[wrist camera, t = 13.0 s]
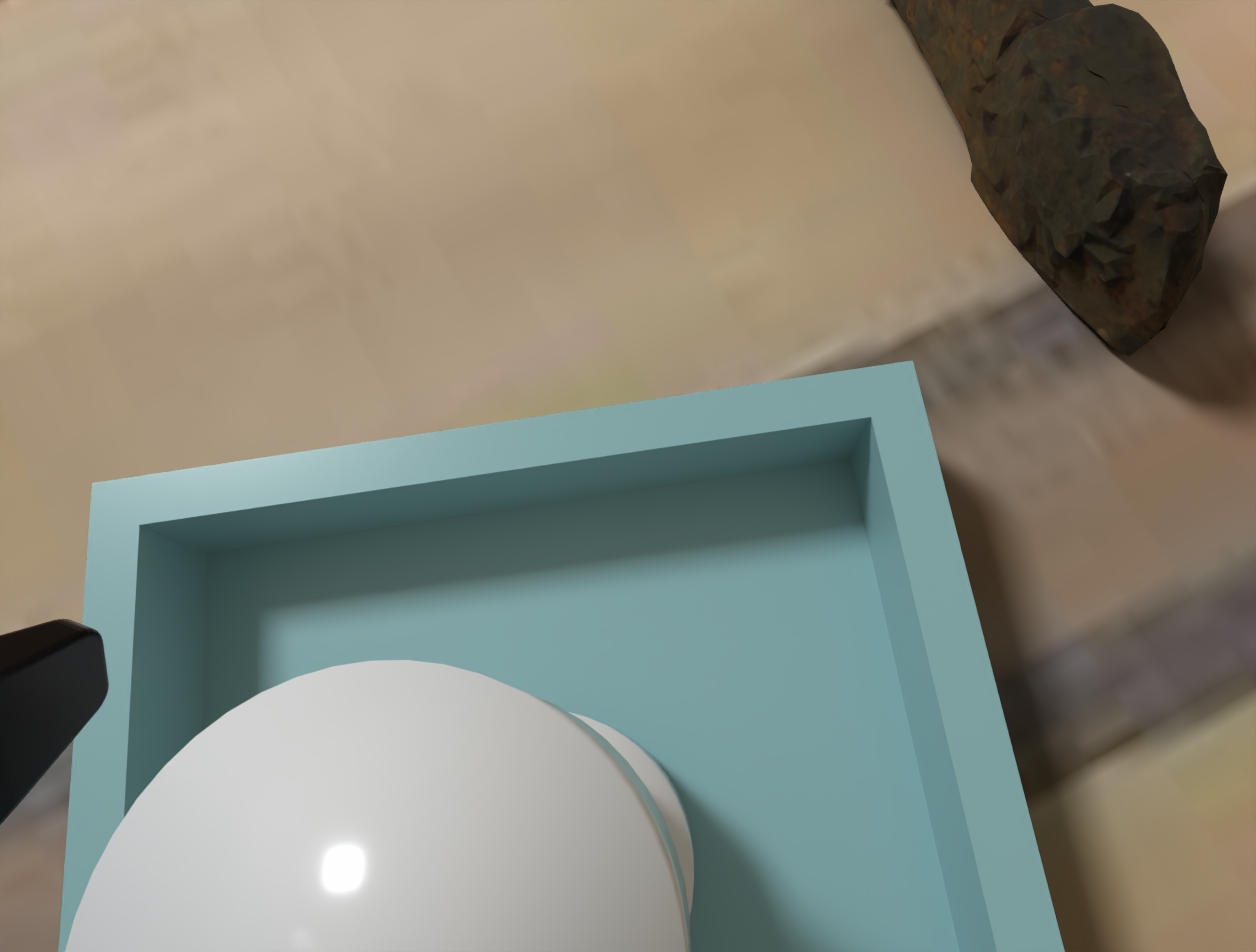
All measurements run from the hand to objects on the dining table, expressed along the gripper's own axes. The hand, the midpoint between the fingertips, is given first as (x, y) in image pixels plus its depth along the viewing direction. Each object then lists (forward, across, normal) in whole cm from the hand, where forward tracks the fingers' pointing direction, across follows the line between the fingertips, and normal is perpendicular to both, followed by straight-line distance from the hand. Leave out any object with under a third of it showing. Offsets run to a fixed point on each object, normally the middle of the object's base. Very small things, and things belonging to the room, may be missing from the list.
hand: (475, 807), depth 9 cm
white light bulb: (+5, 0, +7) cm, 9 cm away
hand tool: (+21, -3, -8) cm, 23 cm away
